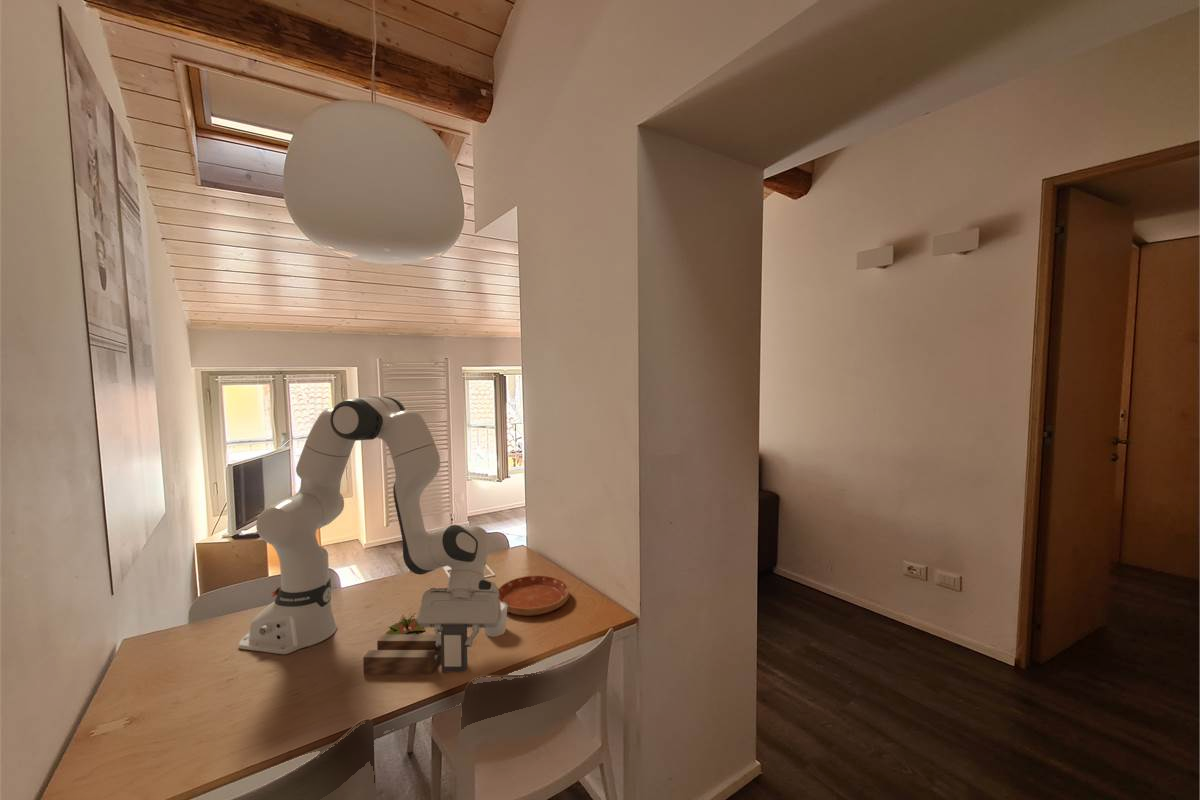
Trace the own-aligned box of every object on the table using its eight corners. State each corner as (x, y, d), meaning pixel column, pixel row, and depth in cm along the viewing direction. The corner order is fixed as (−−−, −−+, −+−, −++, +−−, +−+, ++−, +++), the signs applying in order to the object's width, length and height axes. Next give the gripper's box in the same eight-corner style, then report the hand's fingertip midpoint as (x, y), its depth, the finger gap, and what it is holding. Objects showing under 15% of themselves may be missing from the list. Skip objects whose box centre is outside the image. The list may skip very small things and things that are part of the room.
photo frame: (480, 557, 183) (495, 574, 168) (480, 560, 183) (495, 577, 168) (441, 564, 176) (453, 583, 160) (441, 567, 176) (453, 586, 160)
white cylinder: (501, 639, 127) (501, 613, 127) (478, 636, 128) (477, 611, 128) (511, 626, 134) (511, 602, 133) (488, 623, 135) (488, 599, 135)
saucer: (544, 626, 134) (544, 614, 134) (480, 609, 144) (480, 597, 143) (581, 594, 154) (581, 582, 154) (523, 581, 164) (523, 570, 164)
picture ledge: (363, 673, 112) (363, 657, 112) (382, 649, 122) (382, 634, 122) (431, 673, 112) (430, 657, 112) (444, 649, 122) (444, 634, 122)
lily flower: (401, 617, 139) (401, 602, 139) (438, 622, 137) (438, 606, 136) (374, 639, 127) (373, 623, 127) (414, 644, 125) (413, 627, 125)
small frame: (441, 672, 113) (440, 631, 112) (445, 665, 115) (444, 625, 115) (464, 672, 113) (463, 631, 112) (467, 665, 115) (467, 625, 115)
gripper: (421, 583, 120) (406, 642, 111) (501, 583, 120) (493, 642, 111) (428, 592, 125) (414, 650, 115) (505, 592, 125) (497, 650, 115)
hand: (453, 646), depth 113 cm, fingers closed on small frame, 5 cm apart
